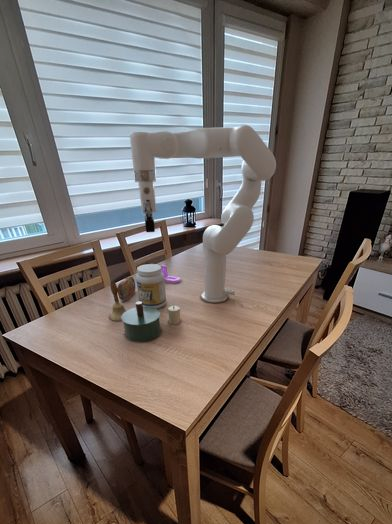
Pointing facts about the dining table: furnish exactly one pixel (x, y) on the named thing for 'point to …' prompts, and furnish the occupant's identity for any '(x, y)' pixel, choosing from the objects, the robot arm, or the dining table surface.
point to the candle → (174, 314)
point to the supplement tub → (151, 285)
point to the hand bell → (116, 304)
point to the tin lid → (140, 315)
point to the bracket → (169, 278)
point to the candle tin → (142, 332)
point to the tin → (126, 288)
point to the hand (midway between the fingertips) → (150, 229)
